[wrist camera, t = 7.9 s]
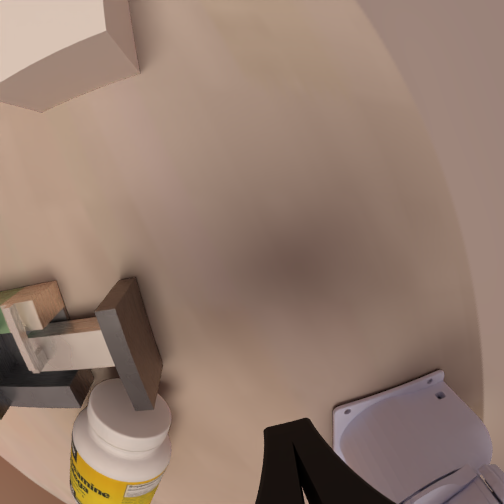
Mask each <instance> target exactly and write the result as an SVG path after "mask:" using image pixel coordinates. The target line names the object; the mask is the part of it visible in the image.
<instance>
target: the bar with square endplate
mask: <svg viewBox="0 0 504 504" xmlns="http://www.w3.org/2000/svg"><path fill="white" fill-rule="evenodd" d="M3 312H4V315H5V317H6V320H7V322H8V325H9V327H10V330H11V332H12V334H13V337H14V339H15V341H16V344H17V346H18V348H19V350H20V353H21V355H22V357H23V359H24V361H25V363H26V365H27V367H28V369H29V371H32V372H33V373H40V372H41V371H62V370H78V369H91V368H103V367H113V366H115V367H116V369H117V372H118V374H119V376H120V379H121V381H122V383H123V385H124V388H125V390H126V392H127V394H128V396H129V399H130V401H131V403H132V405H133V407H134V409H135V411H145V410H154V408H155V402H156V397H157V392H158V387H159V383H160V378H161V373H162V368H163V364H162V361H161V358H160V355H159V353H158V350H157V347H156V344H155V341H154V338H153V335H152V331H151V328H150V325H149V322H148V319H147V316H146V312H145V309H144V306H143V302H142V299H141V295H140V292H139V288H138V285H137V281H136V277H135V278H130V279H124V280H119V281H118V282H117V283H116V284H115V286H114V287H113V288H112V289H111V291H110V292H109V293H108V295H107V296H106V297H105V299H104V300H103V301H102V302H101V304H100V305H99V306H98V308H97V309H96V310H95V315H96V317H92V318H85V319H78V320H71V321H63V322H56V323H48V324H47V326H46V327H45V328H44V329H41V330H32V331H31V332H30V333H29V334H28V335H27V334H26V331H25V329H24V327H23V324H22V322H21V319H20V316H19V314H18V311H17V309H16V306H15V303H13V304H8V305H7V306H5V307H4V308H3Z"/></svg>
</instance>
